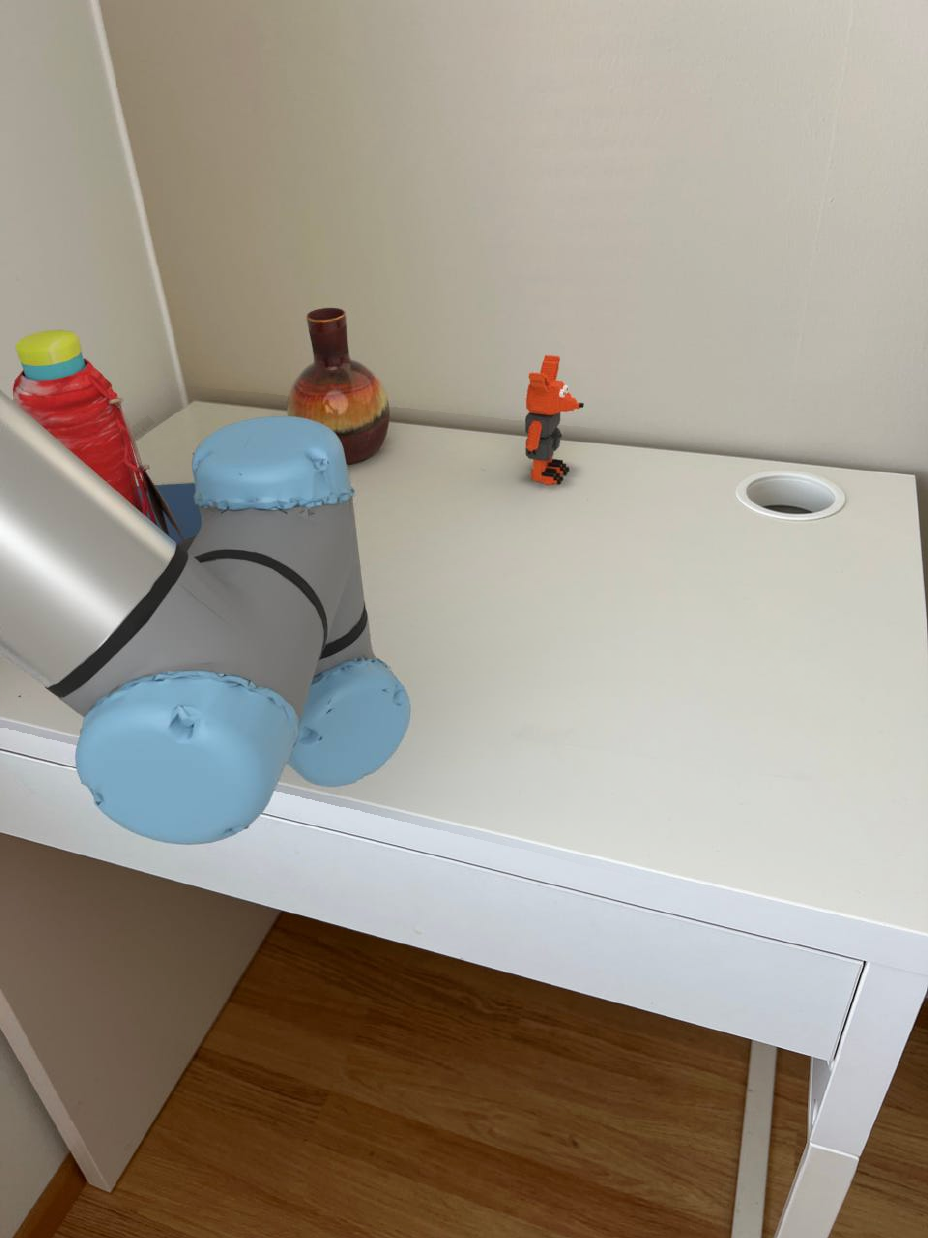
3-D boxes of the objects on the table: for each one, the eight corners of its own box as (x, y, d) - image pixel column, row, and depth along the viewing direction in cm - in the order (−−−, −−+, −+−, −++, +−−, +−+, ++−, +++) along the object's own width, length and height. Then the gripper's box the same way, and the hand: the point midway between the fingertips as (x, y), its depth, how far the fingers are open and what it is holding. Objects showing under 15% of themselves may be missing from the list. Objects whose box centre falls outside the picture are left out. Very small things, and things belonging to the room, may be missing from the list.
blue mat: (69, 572, 94) (68, 567, 94) (114, 491, 107) (113, 487, 107) (303, 559, 94) (302, 555, 93) (320, 480, 107) (319, 476, 106)
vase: (406, 459, 110) (393, 320, 101) (308, 481, 107) (285, 339, 98) (376, 422, 118) (361, 290, 109) (284, 441, 115) (261, 307, 106)
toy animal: (570, 497, 101) (571, 383, 94) (519, 490, 103) (516, 378, 96) (592, 462, 107) (595, 353, 100) (543, 456, 109) (542, 349, 102)
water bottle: (226, 594, 89) (164, 316, 75) (191, 647, 83) (115, 356, 69) (102, 586, 92) (18, 315, 77) (58, 638, 85) (-42, 353, 71)
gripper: (58, 740, 60) (-30, 590, 75) (405, 591, 72) (270, 486, 86) (21, 640, 56) (-66, 501, 70) (396, 499, 67) (255, 404, 82)
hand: (119, 493), depth 78 cm, fingers open, 13 cm apart
